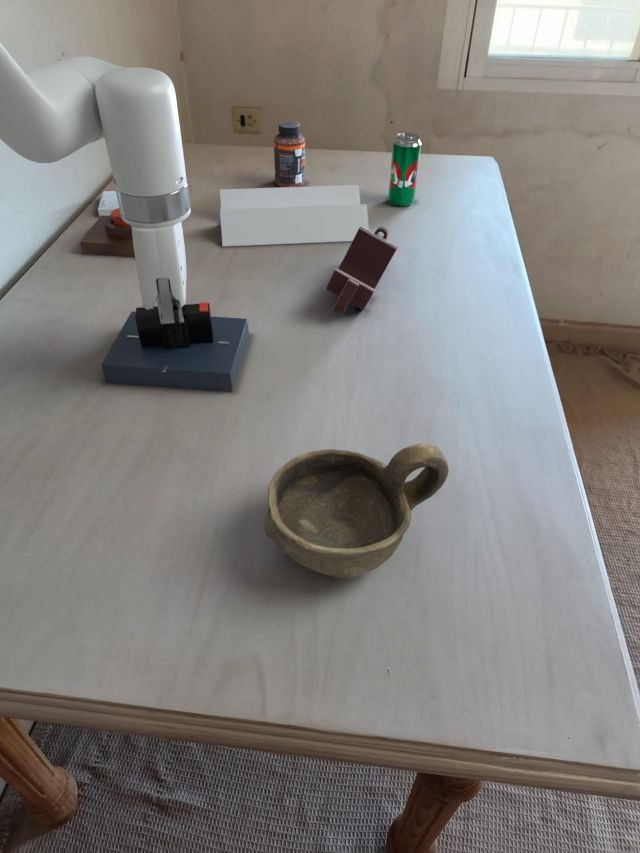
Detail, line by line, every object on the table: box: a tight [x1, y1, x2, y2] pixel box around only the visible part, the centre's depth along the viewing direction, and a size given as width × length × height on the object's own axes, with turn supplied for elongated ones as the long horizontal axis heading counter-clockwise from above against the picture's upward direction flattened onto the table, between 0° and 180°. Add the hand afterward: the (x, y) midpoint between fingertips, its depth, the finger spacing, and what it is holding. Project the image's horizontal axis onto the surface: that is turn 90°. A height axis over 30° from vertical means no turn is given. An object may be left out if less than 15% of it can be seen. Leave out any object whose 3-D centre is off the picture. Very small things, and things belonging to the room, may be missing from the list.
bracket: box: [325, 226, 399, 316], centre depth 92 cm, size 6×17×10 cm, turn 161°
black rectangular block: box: [135, 301, 213, 347], centre depth 79 cm, size 9×2×5 cm, turn 98°
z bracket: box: [219, 184, 370, 248], centre depth 109 cm, size 12×25×6 cm
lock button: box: [111, 208, 130, 226], centre depth 103 cm, size 4×4×2 cm
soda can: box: [387, 132, 422, 208], centre depth 115 cm, size 5×5×12 cm
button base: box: [79, 215, 135, 258], centre depth 105 cm, size 12×10×4 cm
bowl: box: [264, 442, 449, 580], centre depth 59 cm, size 14×18×10 cm
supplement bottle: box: [273, 120, 306, 188], centre depth 121 cm, size 6×6×11 cm
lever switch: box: [100, 311, 250, 393], centre depth 81 cm, size 16×13×3 cm
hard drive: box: [97, 190, 119, 218], centre depth 116 cm, size 2×8×12 cm
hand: (177, 339), depth 80 cm, fingers closed on black rectangular block, 2 cm apart
